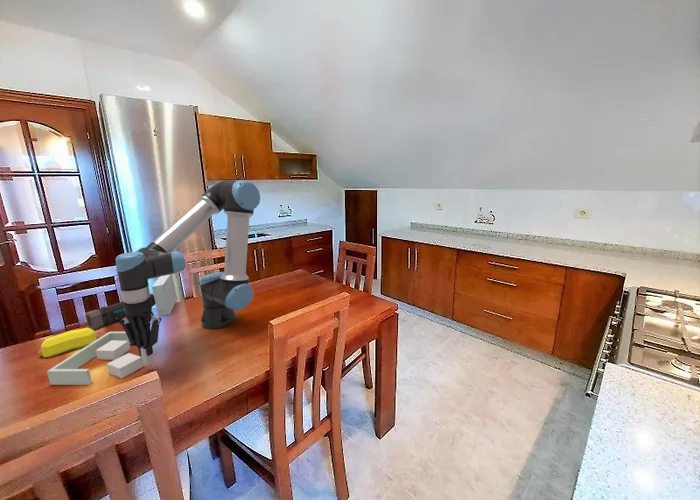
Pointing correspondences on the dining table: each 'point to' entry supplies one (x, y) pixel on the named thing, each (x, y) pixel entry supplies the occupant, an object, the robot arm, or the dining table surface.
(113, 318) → the black handheld tool
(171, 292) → the skincare box
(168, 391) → the dining table surface
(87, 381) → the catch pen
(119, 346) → the tile
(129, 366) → the tile
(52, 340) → the yellow bevelled bar
